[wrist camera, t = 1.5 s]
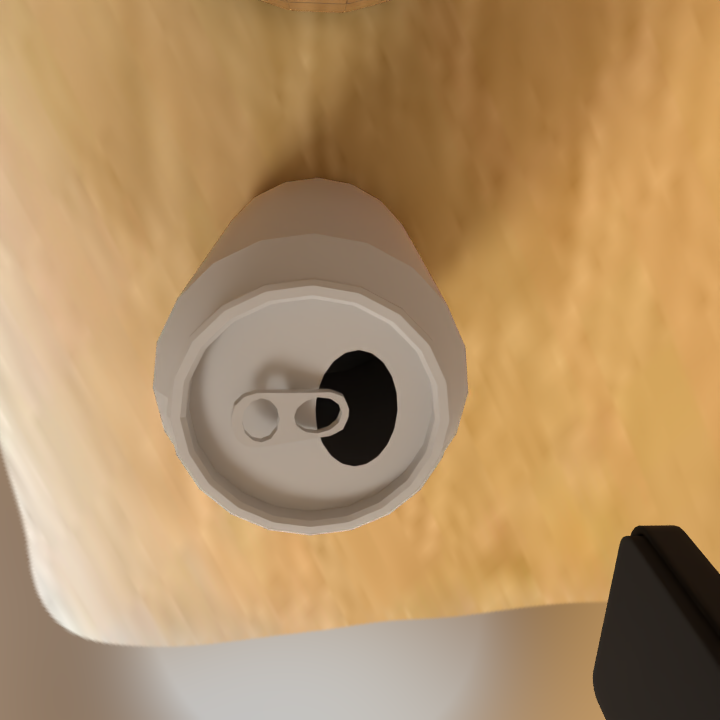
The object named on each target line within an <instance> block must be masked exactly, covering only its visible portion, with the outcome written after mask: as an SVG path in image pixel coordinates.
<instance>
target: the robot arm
mask: <svg viewBox="0 0 720 720" xmlns="http://www.w3.org/2000/svg"><path fill="white" fill-rule="evenodd" d="M593 686H594V691H595V695H596V698H597V701H598V703H599V705H600V708H601V710H602V712H603V714H604V717H605V719H606V720H720V574H719V573H718V571H717V570H716V569H715V568H714V567H713V565H712V564H711V563H710V562H709V561H708V559H707V558H706V557H705V556H704V555H703V553H702V552H701V551H700V550H699V549H698V547H697V546H696V545H695V544H694V543H693V541H692V540H691V539H690V538H689V537H688V535H687V534H686V533H685V532H684V531H683V530H682V529H681V528H680V527H678V526H675V525H669V526H637V527H635V528H634V530H633V531H632V533H631V536H625V537H623V538H622V540H621V542H620V546H619V550H618V555H617V560H616V565H615V570H614V574H613V579H612V584H611V589H610V594H609V599H608V603H607V608H606V614H605V618H604V623H603V627H602V632H601V637H600V642H599V647H598V652H597V656H596V661H595V666H594V671H593Z"/></svg>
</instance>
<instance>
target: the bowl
mask: <svg viewBox="0 0 720 720" xmlns="http://www.w3.org/2000/svg"><path fill="white" fill-rule="evenodd" d="M260 1H263V2H266V3H269V4H272V5H275V6H278V7H281V8H284V9H287V10H290V9H291V10H292V11H310V12H338V13H343V12H344V11H345V12H349V11H353V10H357V9H361V8H365V7H368V6H372V5H376V4H380V3H383V2H387V1H391V0H260Z"/></svg>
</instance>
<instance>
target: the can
mask: <svg viewBox="0 0 720 720" xmlns="http://www.w3.org/2000/svg"><path fill="white" fill-rule="evenodd" d="M153 390H154V394H155V397H156V401H157V405H158V408H159V412H160V416H161V420H162V423H163V427H164V431H165V433H166V434H167V436H168V437H169V439H170V440H171V442H172V443H173V445H174V447H175V451H176V454H177V456H178V458H179V459H180V461H181V462H182V464H183V465H184V467H185V468H186V470H187V471H188V473H189V474H190V476H191V477H192V479H193V480H194V482H195V483H196V485H197V486H198V488H199V489H200V490H201V491H203V492H204V493H205V494H206V495H208V496H209V497H210V498H211V499H213V500H214V501H215V502H216V503H218V504H219V505H220V506H221V507H223V508H224V509H225V510H226V511H228V512H229V513H230V514H232V515H234V516H237V517H239V518H241V519H244V520H246V521H249V522H251V523H254V524H256V525H258V526H261V527H263V528H266V529H268V530H273V531H281V532H288V533H296V534H304V535H317V534H325V533H333V532H340V531H348V530H353V529H355V528H358V527H360V526H362V525H365V524H367V523H370V522H372V521H375V520H377V519H379V518H382V517H384V516H387V515H389V514H390V513H392V512H393V511H394V510H395V509H397V508H398V507H399V506H400V505H402V504H403V503H404V502H405V501H407V500H408V499H409V498H411V497H412V496H413V495H414V494H416V493H417V492H418V491H419V490H421V488H422V487H423V485H424V484H425V482H426V481H427V479H428V478H429V476H430V475H431V473H432V472H433V471H434V469H435V468H436V466H437V465H438V463H439V462H440V460H441V459H442V457H443V454H444V451H445V450H446V448H447V447H448V445H449V444H450V442H451V441H452V439H453V438H454V436H455V435H456V433H457V429H458V426H459V422H460V419H461V415H462V412H463V408H464V405H465V401H466V398H467V394H468V382H467V366H466V350H465V345H464V343H463V341H462V338H461V336H460V334H459V331H458V329H457V327H456V324H455V322H454V320H453V318H452V315H451V313H450V311H449V308H448V306H447V304H446V302H445V300H444V298H443V297H442V295H441V293H440V291H439V289H438V288H437V286H436V284H435V282H434V280H433V279H432V277H431V275H430V273H429V272H428V270H427V268H426V266H425V264H424V263H423V261H422V259H421V257H420V255H419V254H418V252H417V250H416V248H415V246H414V245H413V243H412V241H411V239H410V238H409V236H408V234H407V232H406V230H405V229H404V227H403V225H402V224H401V223H400V222H399V220H398V219H397V218H396V217H395V216H394V215H393V214H392V213H391V212H390V210H389V209H388V208H387V207H386V206H385V205H384V204H383V203H382V202H381V201H380V200H379V199H377V198H375V197H373V196H372V195H370V194H368V193H366V192H365V191H363V190H361V189H359V188H357V187H356V186H354V185H352V184H348V183H343V182H338V181H333V180H328V179H323V178H312V179H304V180H297V181H289V182H284V183H282V184H280V185H278V186H276V187H274V188H272V189H270V190H268V191H266V192H264V193H262V194H260V195H258V196H256V197H254V198H253V199H252V200H251V201H250V202H249V203H248V204H247V205H246V206H245V207H244V208H243V209H242V210H241V211H240V212H239V213H238V214H237V215H236V216H235V217H234V218H233V219H232V221H231V222H230V224H229V225H228V227H227V228H226V229H225V231H224V232H223V234H222V235H221V237H220V238H219V239H218V241H217V242H216V244H215V245H214V247H213V248H212V250H211V251H210V252H209V254H208V255H207V257H206V258H205V260H204V261H203V263H202V264H201V265H200V267H199V268H198V270H197V271H196V273H195V274H194V276H193V277H192V278H191V280H190V281H189V283H188V284H187V286H186V287H185V289H184V290H183V291H182V293H181V294H180V296H179V297H178V299H177V301H176V303H175V305H174V307H173V309H172V311H171V313H170V315H169V318H168V320H167V322H166V324H165V326H164V328H163V330H162V332H161V335H160V337H159V339H158V341H157V347H156V359H155V370H154V382H153Z"/></svg>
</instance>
